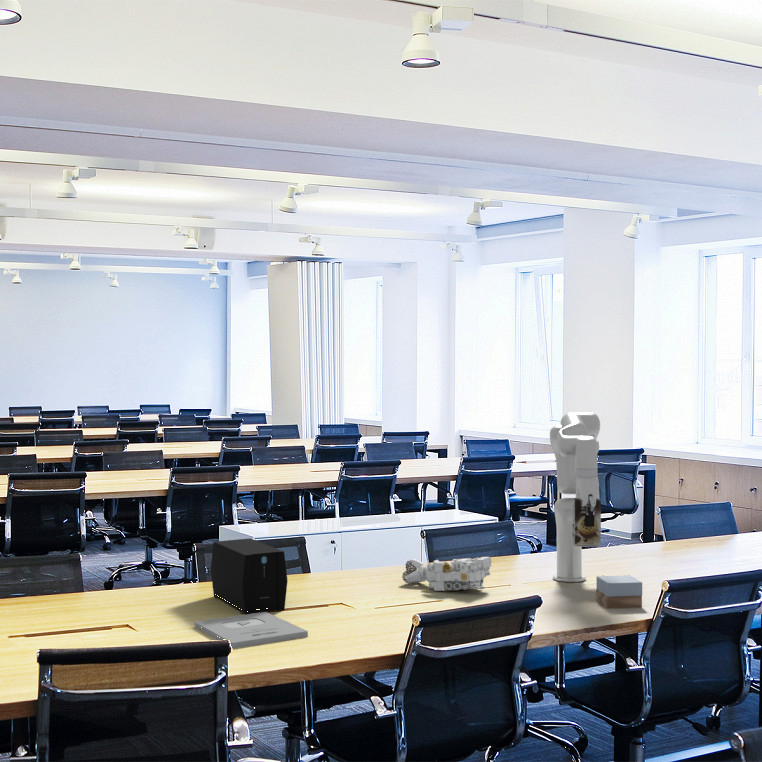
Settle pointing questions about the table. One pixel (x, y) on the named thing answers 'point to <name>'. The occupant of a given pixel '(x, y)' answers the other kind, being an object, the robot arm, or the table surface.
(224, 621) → the award plaque
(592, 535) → the coffee box
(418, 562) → the spaceship
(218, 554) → the uninterruptible power supply
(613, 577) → the block upper
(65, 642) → the table surface
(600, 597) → the block lower
